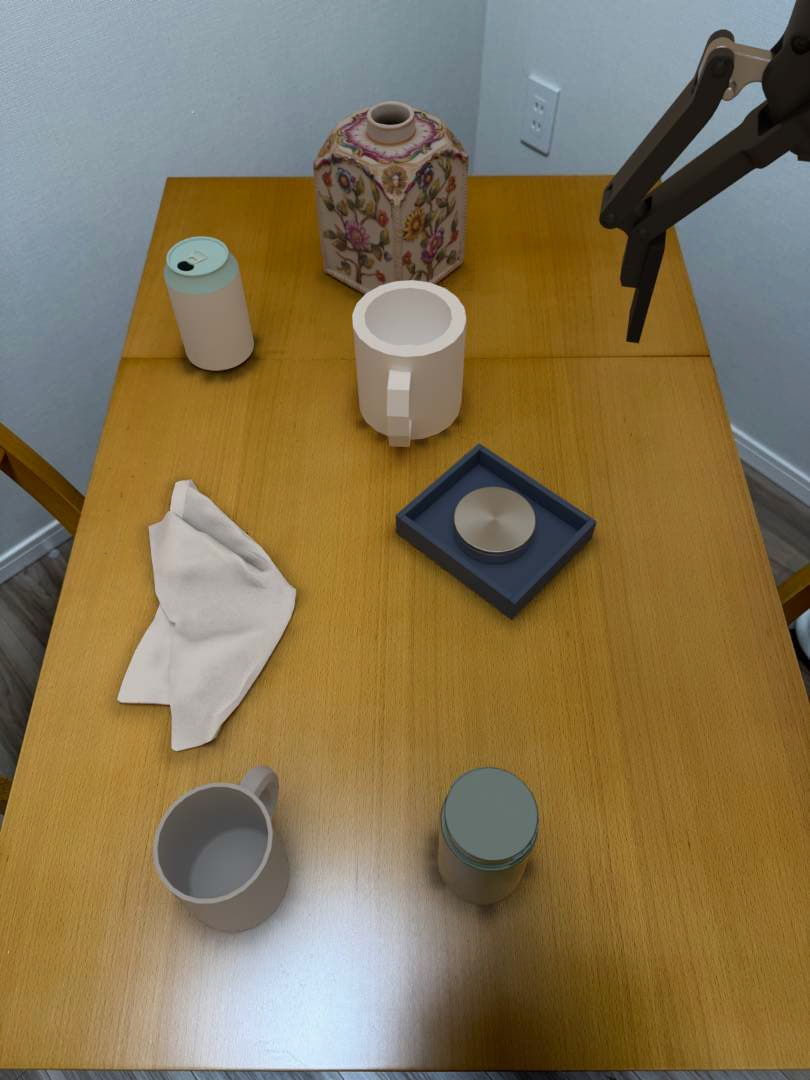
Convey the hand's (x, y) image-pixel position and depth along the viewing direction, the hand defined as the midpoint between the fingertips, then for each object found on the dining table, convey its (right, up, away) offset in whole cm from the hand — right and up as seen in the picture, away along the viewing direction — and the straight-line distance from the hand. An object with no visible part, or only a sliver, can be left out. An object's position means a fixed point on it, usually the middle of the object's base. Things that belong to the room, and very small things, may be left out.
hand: (750, 344), depth 51 cm
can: (-40, +8, +39) cm, 56 cm away
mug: (-20, +1, +34) cm, 40 cm away
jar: (-15, -34, +9) cm, 38 cm away
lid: (-13, -10, +23) cm, 28 cm away
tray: (-13, -11, +25) cm, 30 cm away
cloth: (-36, -17, +21) cm, 46 cm away
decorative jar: (-22, +19, +47) cm, 55 cm away
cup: (-31, -34, +9) cm, 47 cm away
